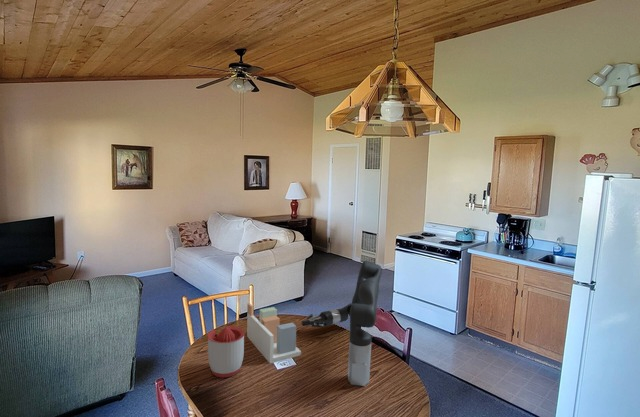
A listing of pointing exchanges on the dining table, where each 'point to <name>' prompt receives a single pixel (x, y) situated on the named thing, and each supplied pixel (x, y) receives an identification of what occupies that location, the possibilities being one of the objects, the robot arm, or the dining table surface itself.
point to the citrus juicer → (226, 351)
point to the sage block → (267, 312)
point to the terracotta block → (271, 325)
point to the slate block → (286, 338)
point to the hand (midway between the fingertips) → (302, 323)
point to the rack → (265, 339)
